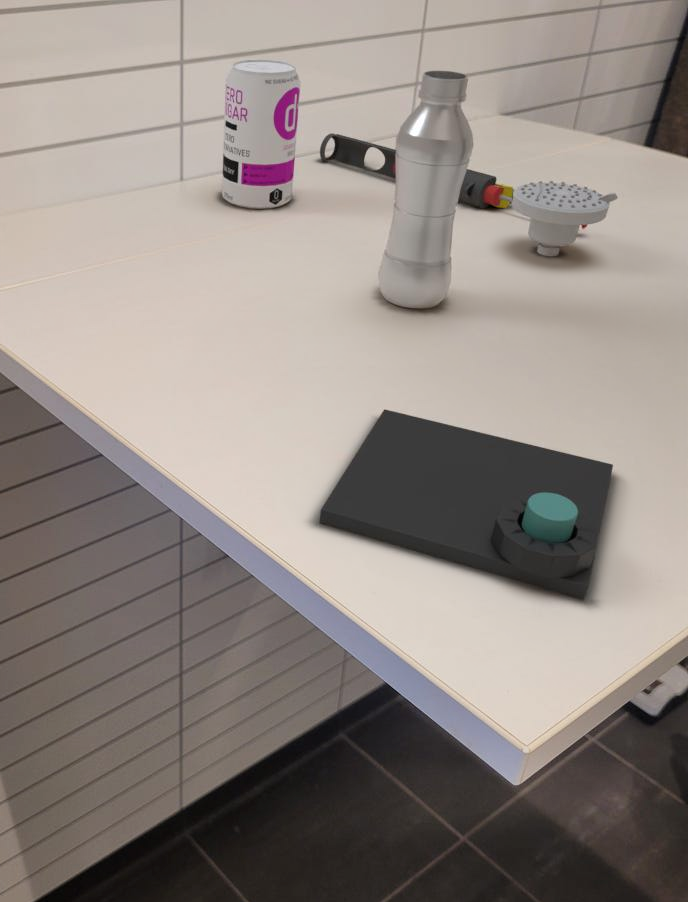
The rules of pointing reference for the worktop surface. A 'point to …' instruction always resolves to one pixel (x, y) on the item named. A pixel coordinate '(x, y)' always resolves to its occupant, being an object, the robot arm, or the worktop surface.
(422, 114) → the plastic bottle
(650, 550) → the worktop surface
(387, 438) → the scale
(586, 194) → the showerhead
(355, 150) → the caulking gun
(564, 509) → the button
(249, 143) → the supplement can
